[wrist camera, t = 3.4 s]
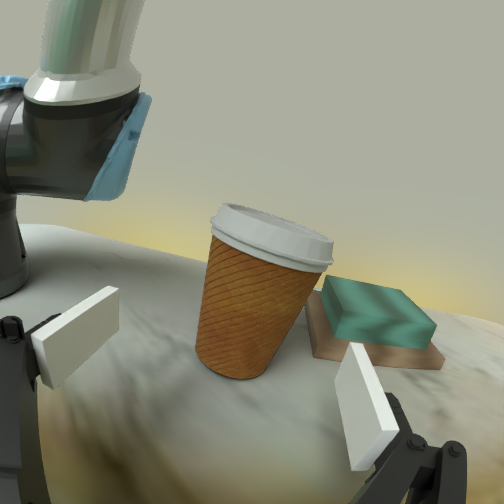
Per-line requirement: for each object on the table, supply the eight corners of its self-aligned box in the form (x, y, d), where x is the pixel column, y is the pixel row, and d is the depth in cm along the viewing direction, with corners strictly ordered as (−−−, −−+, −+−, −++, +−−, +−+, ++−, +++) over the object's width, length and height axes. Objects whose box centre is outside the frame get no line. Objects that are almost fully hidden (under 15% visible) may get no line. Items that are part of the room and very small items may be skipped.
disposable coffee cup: (168, 377, 18) (214, 208, 15) (182, 316, 27) (217, 196, 24) (293, 400, 19) (362, 256, 17) (272, 338, 29) (315, 229, 26)
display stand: (313, 357, 26) (327, 315, 25) (302, 297, 41) (310, 267, 40) (439, 369, 25) (457, 334, 24) (396, 314, 40) (405, 287, 39)
